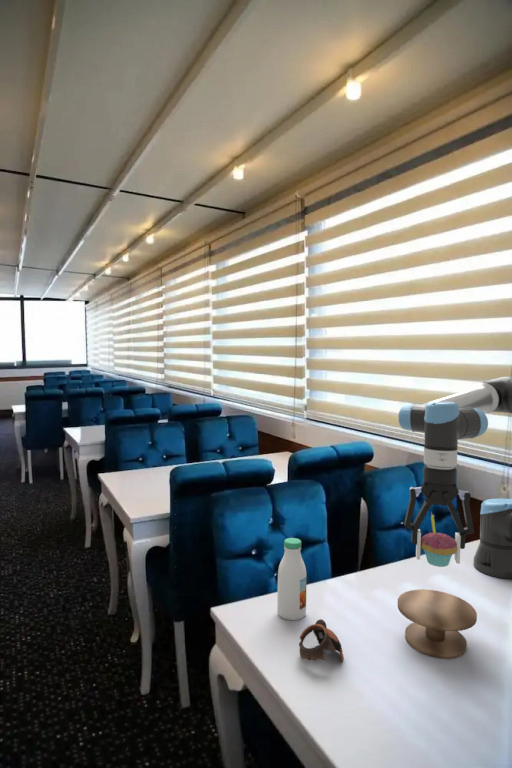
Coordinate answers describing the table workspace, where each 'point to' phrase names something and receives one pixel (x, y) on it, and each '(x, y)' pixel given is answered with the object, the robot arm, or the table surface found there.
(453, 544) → the cupcake
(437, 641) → the cake stand
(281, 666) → the table surface
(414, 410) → the robot arm
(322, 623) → the broken pottery fragment
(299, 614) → the milk bottle
